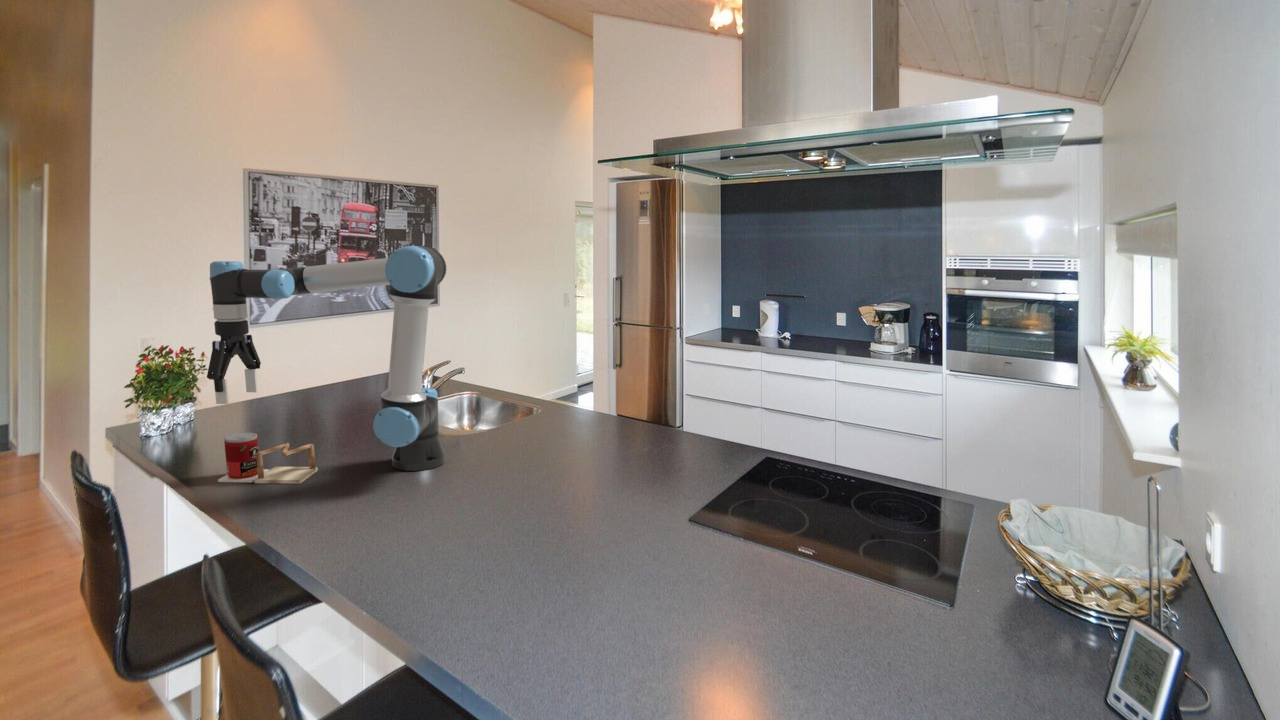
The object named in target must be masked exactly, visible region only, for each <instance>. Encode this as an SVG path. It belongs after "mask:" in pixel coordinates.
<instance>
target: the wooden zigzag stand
mask: <svg viewBox="0 0 1280 720" xmlns="http://www.w3.org/2000/svg"><path fill="white" fill-rule="evenodd" d="M289 447H290V443H289V442H285V443H284V444H280V445H277V446H273V447H270V448H267V449H264V450H260V451H259V452H258V453H256V458H257V471H258V478H256V479H255V480H254V481H253V482H254V484H289V485H290V484H295V485H296V484H297V485H300V484H302V483H304V481H306V480H307V479H308V478H310V477H311V476H313V475H314V474H315V473H317V472H318V471H319V467H318V466H316V460H315V459H316V458H315V456H316V455H315V445H314V443H308V444H305V445H301V446H298V447H296V448H294V449H289ZM282 449H283V451H282V453H281V455H282V457H287V456H289V455H292V454H295V453H299V452H302V451H304V450H307V449H308V461H309V462H308V463H309V466H274V467H272V468H270V469H269V471H267V472H266V473H264V470H263V469H264V461H263V458H264V457H263V456H264V455H266V454H269V453H273V452H276V451H279V450H282Z"/></svg>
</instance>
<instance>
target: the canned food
mask: <svg viewBox="0 0 1280 720" xmlns="http://www.w3.org/2000/svg"><path fill="white" fill-rule="evenodd" d="M223 441H224V452H225V454H224V455H225V463H226V475H227V474H228V476H229V477H230V478H232V479H244V478H250V477H253V476H256V475H257V474H258V471H257V458H256V453H258V452H260V451H259V438H258V434H257V433H254V432H238V433H231V434H229V435H226V436H224V440H223Z"/></svg>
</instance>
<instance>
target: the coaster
mask: <svg viewBox="0 0 1280 720" xmlns="http://www.w3.org/2000/svg"><path fill="white" fill-rule="evenodd" d="M263 470H264V473H266V472H267V471H269V470H270V469H267V468H263ZM256 478H258V474H257V475H256V476H253V477H250V478H244V479H232V478H230V477H229V476H228V474H227V473H226V475H224V476H222V477H220V478H217V482H218V483H253V482H254V480H255V479H256Z"/></svg>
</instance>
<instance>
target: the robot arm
mask: <svg viewBox="0 0 1280 720" xmlns="http://www.w3.org/2000/svg"><path fill="white" fill-rule="evenodd" d="M446 275H447V262H446V260H445V258H444V257H443V255H442V254H441V252H439V251H438V250H436V249H435V248H432V247H429V246H424V245H423V246H420V245H419V246H418V245H417V246H416V245H405V246H403V247H399V248H397V249H396V250H394V251H393V252H392V253H391V254H390V255H389V256H388V257H386V258H385V257H383V258H376V259H367V260H357V261H347V262H340V263H330V264H320V265H311V266H301V267H290V268H289V267H288V268H274V269H273V268H272V269H270V268H269V269H247V268H245V267H244V263H243V262H241V261H236V260H235V261H231V260H228V261H227V260H222V261H221V260H220V261H219V260H216V261H212V262H211V263H210V264H209V281H210V287H211V288H210V289H211V297H212V310H213V319H215V322H214V323H213V324H214V332H215V333H214V334H215V335H216V336H219V337H220V340H212V342H211V343H212V344H211V349H212V350H211V355H210V361H209V364H208V369H207V374H206V378H207V379H208V380H212V381H213V383H214V386H213V387H214V393H215V402H216V403H215V405H229V392H228V391H229V390H228V380H227V378H225V376H226V374H227V371H228V369H229V366H230V363H231V361H232V358H234V357H235V356H238V357H239V359H240V360H241V363H243V365H244V366H245V369H244V378H245V389H246V390H245V391H246V392H245V393H258V392H259V390H258V378H257V369H258V370H259V369H261V364H262V363H261V360H260V357H259V355H258V352H257V349H256V347H255V344H254V342H253V336H252V334H249V321H248V320H247V318H248V307H247V299H251V298H253V299H272V300H278V299H279V300H280V299H281V300H282V299H288V298H289V299H290V297H291V296H301V295H306V294H307V295H308V294H316V293H323V292H325V293H326V292H334V291H342V290H344V291H345V290H351V289H363V288H373V287H381V286H382V287H383V286H389V290H388V291H389V292H388V295H389V297H390V298H391V300H393V301H394V307H393V319H392V321H393V322H392V331H391V332H392V333H391V344H390V357H389V358H390V360H389V369H388V382H387V389H386V390H384V391H383V392H382V393H381V396H380V407H379V411H378V412H377V413H376V415H375V417H374V419H373V423H372V428H373V432H374V434H375V437H376V438H377V439H379V440H380V441H381V443H383V444H384V445H387V446H389V447H393V448H394V451H393V454H392V456H391V460H392V461H391V464H392V467H393V468H395V469H397V470H400V471H408V472H409V471H410V472H417V471H419V472H420V471H425V470H430V469H435V468H437V467H440V466H442V465H444V464H445V463H446V453H445V449H444V447H443V444H442V441H441V439H440V436H439V435H440V434H439V429H440V428H439V397H438V391H437V390H436V389H435V388H432V387H422V386H423V385H422V384H423V373H424V361H425V350H426V342H427V341H426V340H427V331H428V330H427V327H428V318H429V317H428V316H429V308H430V307H429V306H430V305H431V303H434V301H435V300H436V296H437V295H436V293H437V286H438V285H440V284H441V282H443V281H444V278H445V277H446Z"/></svg>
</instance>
